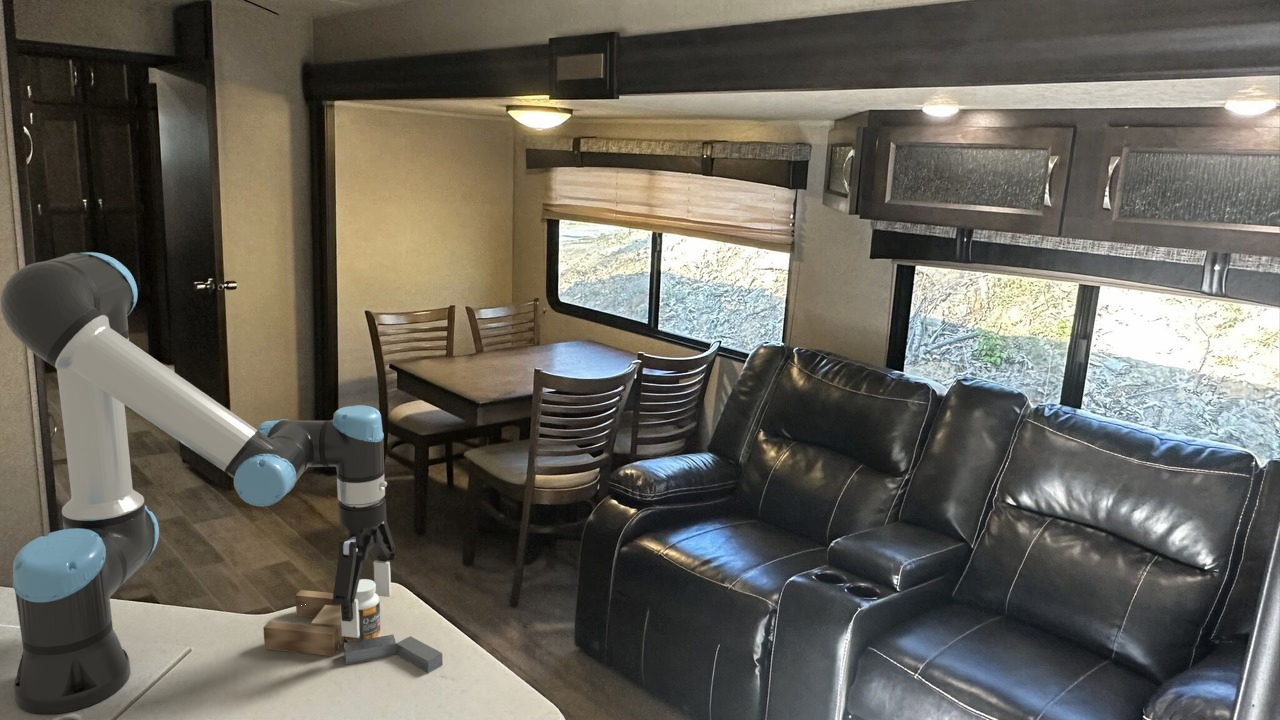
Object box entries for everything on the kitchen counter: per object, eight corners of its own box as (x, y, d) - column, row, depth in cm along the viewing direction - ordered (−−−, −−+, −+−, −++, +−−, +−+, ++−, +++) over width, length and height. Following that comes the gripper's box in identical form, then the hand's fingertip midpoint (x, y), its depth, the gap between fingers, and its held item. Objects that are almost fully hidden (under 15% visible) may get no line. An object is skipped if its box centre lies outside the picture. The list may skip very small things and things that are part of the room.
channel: (264, 648, 151) (263, 627, 150) (301, 610, 164) (300, 589, 163) (333, 656, 150) (332, 634, 149) (365, 616, 163) (364, 596, 162)
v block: (337, 663, 148) (337, 651, 148) (354, 641, 154) (354, 630, 154) (437, 674, 146) (437, 661, 146) (450, 651, 153) (450, 640, 152)
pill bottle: (370, 649, 153) (368, 595, 150) (339, 644, 154) (337, 590, 151) (386, 631, 158) (384, 580, 156) (356, 627, 159) (354, 575, 157)
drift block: (312, 644, 154) (311, 622, 153) (326, 625, 159) (325, 605, 159) (341, 646, 153) (340, 624, 152) (354, 627, 159) (353, 606, 158)
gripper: (351, 532, 137) (358, 656, 143) (411, 473, 162) (414, 582, 167) (304, 528, 138) (312, 652, 143) (370, 470, 162) (375, 578, 167)
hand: (367, 614), depth 155 cm, fingers open, 13 cm apart
